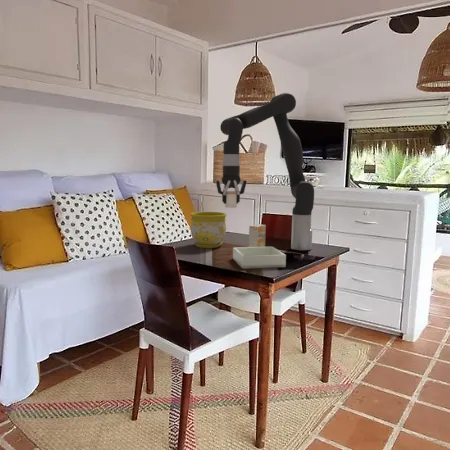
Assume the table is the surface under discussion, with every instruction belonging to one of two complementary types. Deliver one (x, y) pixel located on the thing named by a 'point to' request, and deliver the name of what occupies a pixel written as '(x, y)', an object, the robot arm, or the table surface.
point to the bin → (259, 257)
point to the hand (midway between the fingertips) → (230, 203)
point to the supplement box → (257, 235)
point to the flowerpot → (208, 228)
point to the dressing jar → (231, 199)
